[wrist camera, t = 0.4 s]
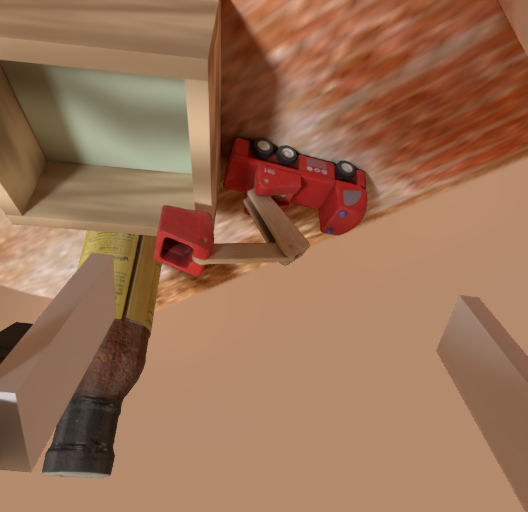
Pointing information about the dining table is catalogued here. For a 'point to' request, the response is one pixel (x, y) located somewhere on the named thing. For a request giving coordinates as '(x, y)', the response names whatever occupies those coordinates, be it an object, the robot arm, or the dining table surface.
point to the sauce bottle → (108, 360)
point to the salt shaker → (517, 19)
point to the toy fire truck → (265, 208)
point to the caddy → (109, 111)
